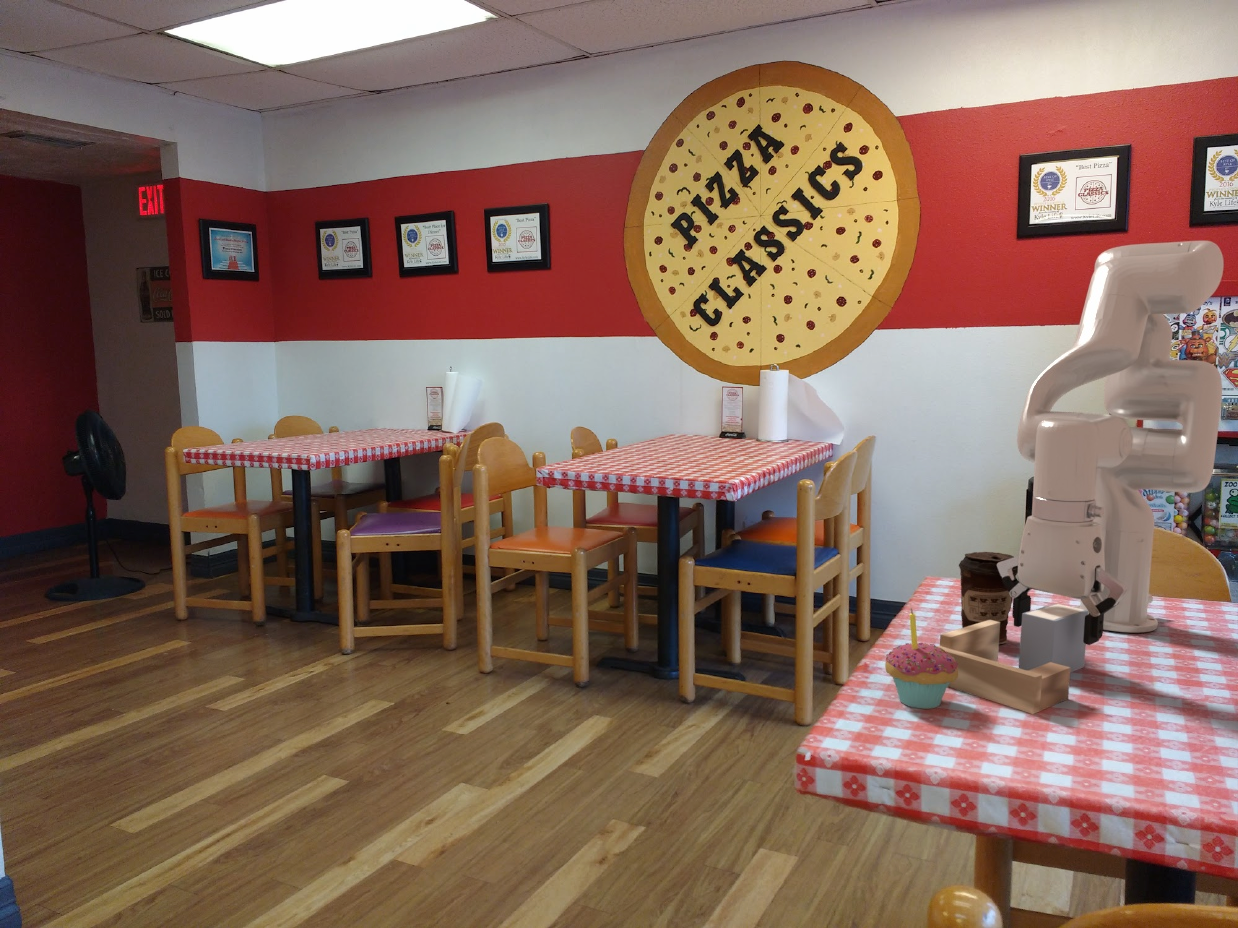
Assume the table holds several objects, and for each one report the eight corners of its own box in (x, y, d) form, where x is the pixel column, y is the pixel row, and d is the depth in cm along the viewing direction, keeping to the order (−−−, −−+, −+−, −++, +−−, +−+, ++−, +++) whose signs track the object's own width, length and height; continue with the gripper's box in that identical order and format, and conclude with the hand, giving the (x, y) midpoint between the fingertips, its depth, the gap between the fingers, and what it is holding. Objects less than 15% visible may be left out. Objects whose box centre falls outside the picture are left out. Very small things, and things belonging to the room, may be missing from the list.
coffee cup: (1020, 651, 133) (1026, 563, 132) (959, 646, 135) (965, 559, 133) (1007, 633, 142) (1012, 550, 140) (951, 629, 143) (955, 547, 142)
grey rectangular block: (1052, 658, 130) (1056, 603, 129) (1084, 667, 127) (1088, 610, 126) (1018, 670, 125) (1022, 612, 124) (1050, 680, 121) (1055, 620, 120)
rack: (987, 661, 128) (989, 619, 127) (1087, 690, 117) (1090, 644, 117) (930, 681, 120) (933, 636, 119) (1033, 713, 109) (1036, 664, 108)
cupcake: (919, 719, 107) (924, 619, 106) (868, 695, 114) (872, 601, 113) (971, 707, 111) (977, 610, 110) (918, 684, 118) (923, 593, 117)
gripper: (1143, 516, 119) (1134, 643, 121) (1016, 498, 132) (1010, 613, 135) (1116, 524, 114) (1107, 656, 117) (987, 504, 128) (982, 623, 130)
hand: (1055, 633), depth 126 cm, fingers open, 9 cm apart
